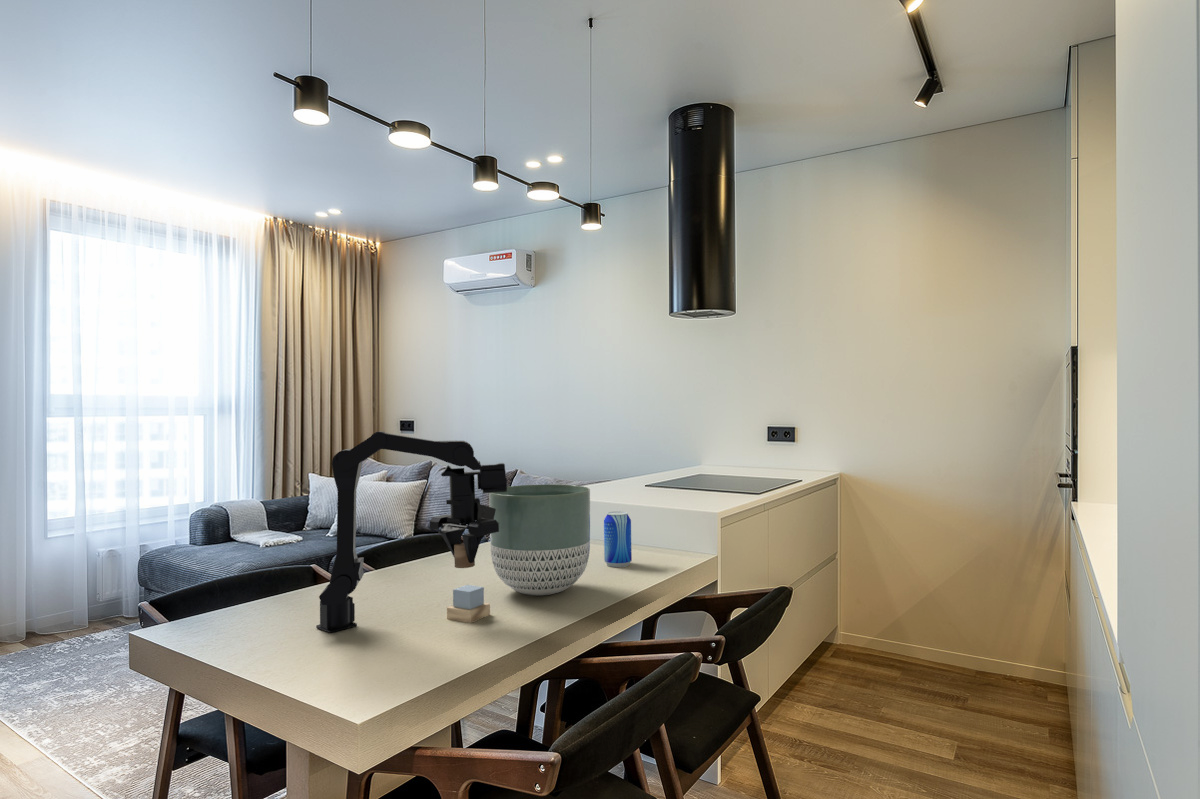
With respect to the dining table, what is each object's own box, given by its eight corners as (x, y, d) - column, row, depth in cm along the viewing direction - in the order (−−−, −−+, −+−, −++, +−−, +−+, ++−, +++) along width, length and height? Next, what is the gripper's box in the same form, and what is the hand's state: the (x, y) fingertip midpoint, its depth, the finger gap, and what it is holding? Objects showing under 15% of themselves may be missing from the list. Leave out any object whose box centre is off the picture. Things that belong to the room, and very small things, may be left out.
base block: (470, 624, 155) (470, 611, 155) (447, 620, 158) (446, 607, 158) (490, 616, 161) (489, 603, 161) (467, 612, 164) (466, 599, 164)
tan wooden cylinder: (463, 569, 156) (462, 547, 156) (450, 566, 159) (449, 545, 159) (478, 565, 159) (478, 543, 159) (466, 562, 162) (465, 541, 162)
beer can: (601, 563, 214) (600, 511, 214) (626, 560, 216) (625, 510, 217) (609, 568, 206) (608, 515, 206) (635, 566, 208) (634, 514, 209)
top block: (469, 609, 156) (469, 591, 156) (453, 606, 159) (453, 589, 159) (483, 604, 160) (483, 587, 161) (467, 601, 163) (467, 584, 163)
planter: (607, 584, 187) (606, 486, 188) (561, 610, 163) (560, 497, 164) (524, 576, 198) (522, 483, 199) (469, 599, 174) (468, 493, 175)
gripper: (515, 492, 160) (517, 559, 159) (464, 488, 172) (466, 551, 171) (478, 498, 151) (480, 569, 151) (427, 494, 163) (429, 559, 163)
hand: (464, 561), depth 159 cm, fingers closed on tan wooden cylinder, 5 cm apart
